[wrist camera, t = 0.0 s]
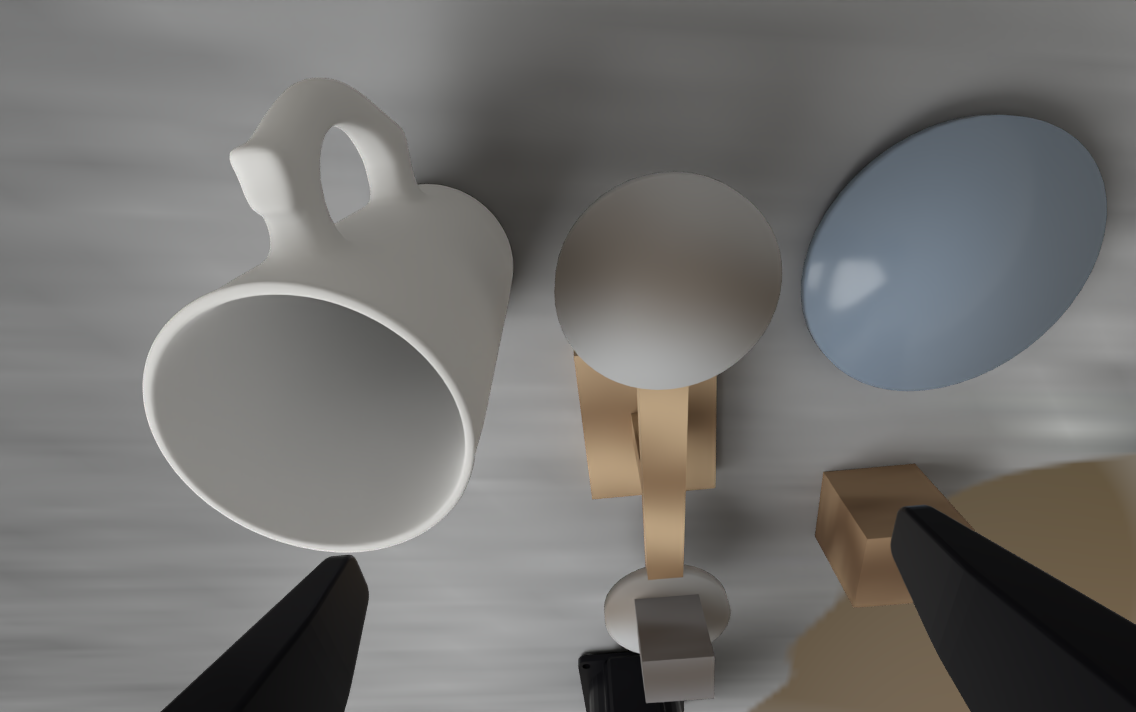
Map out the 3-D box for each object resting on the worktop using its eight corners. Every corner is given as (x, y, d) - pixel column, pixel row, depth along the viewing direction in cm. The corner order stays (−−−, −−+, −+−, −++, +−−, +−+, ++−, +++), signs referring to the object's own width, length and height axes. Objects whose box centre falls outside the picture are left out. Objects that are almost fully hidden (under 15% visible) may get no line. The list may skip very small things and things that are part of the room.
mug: (527, 331, 23) (494, 546, 13) (376, 341, 23) (216, 560, 13) (499, 71, 18) (407, 60, 8) (310, 85, 19) (-30, 93, 8)
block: (898, 527, 29) (952, 600, 25) (814, 534, 29) (853, 607, 25) (913, 462, 27) (974, 530, 23) (822, 471, 27) (867, 539, 23)
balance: (708, 580, 30) (750, 725, 24) (604, 588, 31) (615, 735, 24) (711, 131, 19) (790, 160, 13) (549, 152, 20) (539, 191, 13)
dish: (1033, 363, 24) (1055, 377, 23) (786, 388, 24) (796, 402, 23) (1122, 94, 19) (1155, 95, 18) (807, 133, 19) (821, 137, 18)
